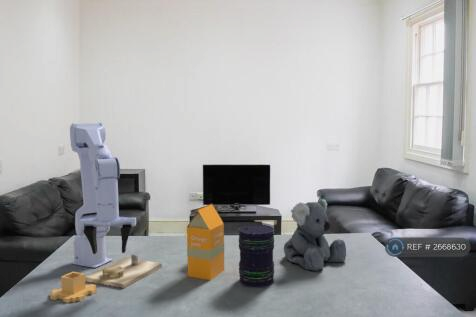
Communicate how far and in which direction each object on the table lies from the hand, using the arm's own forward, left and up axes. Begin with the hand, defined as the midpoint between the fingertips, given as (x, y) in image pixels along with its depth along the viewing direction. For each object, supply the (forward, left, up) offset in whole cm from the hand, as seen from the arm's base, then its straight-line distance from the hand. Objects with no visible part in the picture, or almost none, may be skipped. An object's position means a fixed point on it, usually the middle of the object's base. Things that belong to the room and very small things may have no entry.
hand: (109, 252), depth 122 cm
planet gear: (-6, -8, -10) cm, 14 cm away
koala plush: (+44, +42, -10) cm, 62 cm away
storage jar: (+35, +19, -10) cm, 41 cm away
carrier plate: (-3, +9, -10) cm, 14 cm away
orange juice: (+19, +19, -10) cm, 29 cm away
